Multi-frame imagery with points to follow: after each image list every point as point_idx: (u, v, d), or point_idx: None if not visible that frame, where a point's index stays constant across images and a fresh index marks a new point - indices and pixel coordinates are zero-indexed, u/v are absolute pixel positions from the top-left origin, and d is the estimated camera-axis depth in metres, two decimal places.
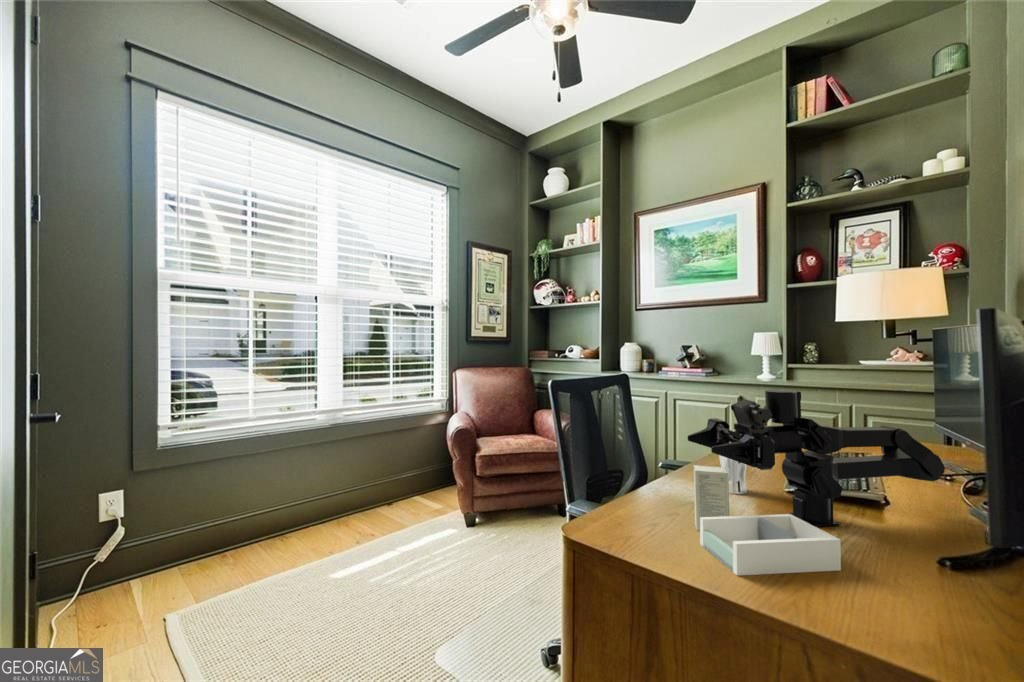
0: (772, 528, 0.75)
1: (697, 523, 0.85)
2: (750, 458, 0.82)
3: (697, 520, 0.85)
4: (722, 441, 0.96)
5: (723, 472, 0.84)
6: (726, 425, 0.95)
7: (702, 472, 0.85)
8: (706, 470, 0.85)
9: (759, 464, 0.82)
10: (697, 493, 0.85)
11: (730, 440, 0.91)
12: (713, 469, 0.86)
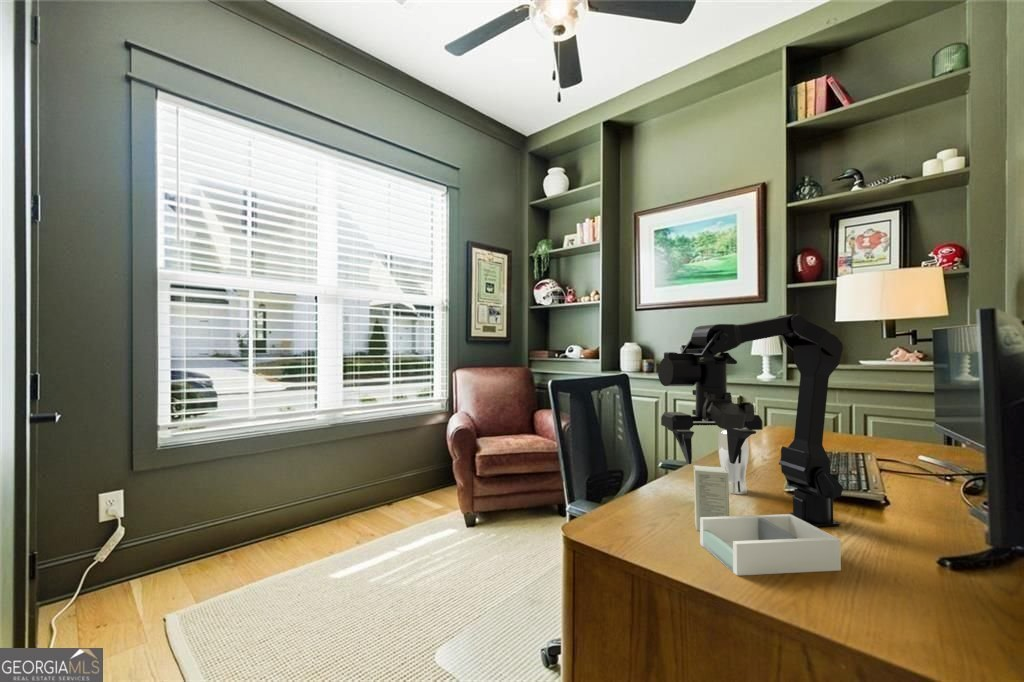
0: (772, 528, 0.75)
1: (697, 523, 0.85)
2: None
3: (697, 520, 0.85)
4: None
5: (723, 472, 0.84)
6: None
7: (702, 472, 0.85)
8: (706, 470, 0.85)
9: None
10: (697, 493, 0.85)
11: (703, 424, 0.87)
12: (713, 469, 0.86)
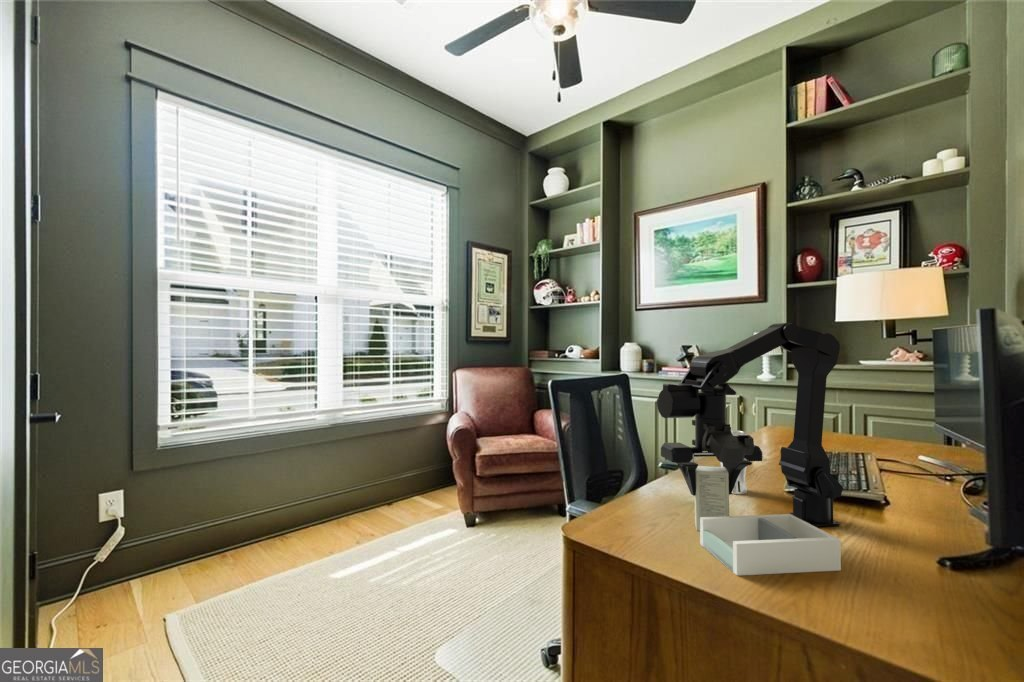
0: (772, 528, 0.75)
1: (697, 523, 0.85)
2: None
3: (697, 520, 0.85)
4: None
5: (723, 472, 0.84)
6: None
7: (702, 472, 0.85)
8: (706, 470, 0.85)
9: None
10: (697, 493, 0.85)
11: None
12: (713, 469, 0.86)
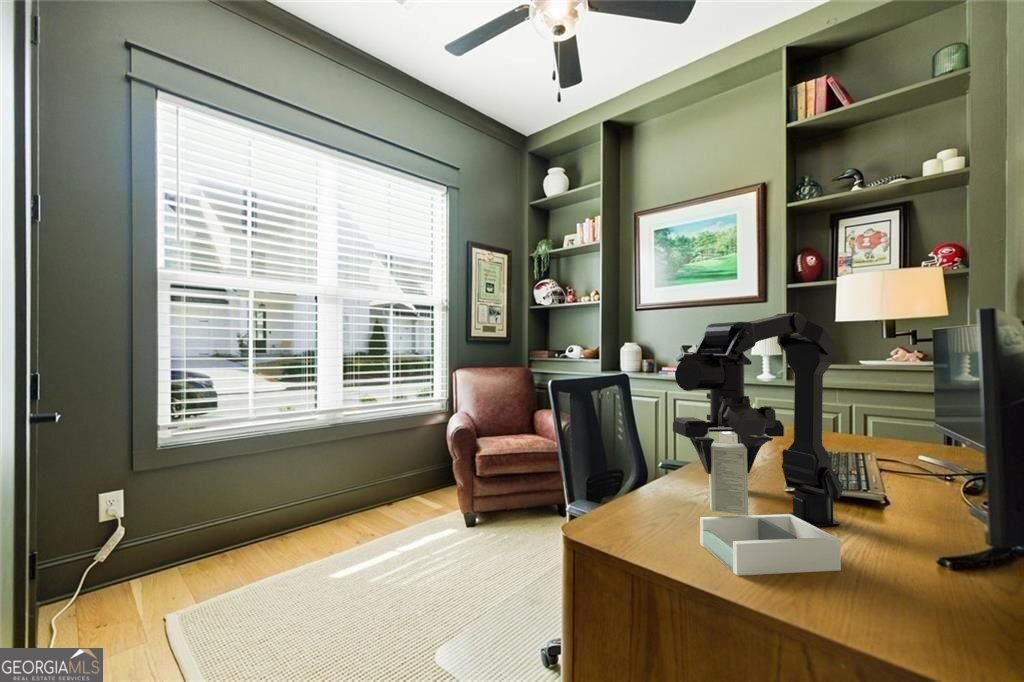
0: (772, 528, 0.75)
1: (712, 503, 0.79)
2: None
3: (712, 500, 0.79)
4: None
5: (741, 448, 0.77)
6: None
7: (718, 448, 0.78)
8: (722, 446, 0.79)
9: None
10: (712, 471, 0.79)
11: None
12: (730, 445, 0.79)
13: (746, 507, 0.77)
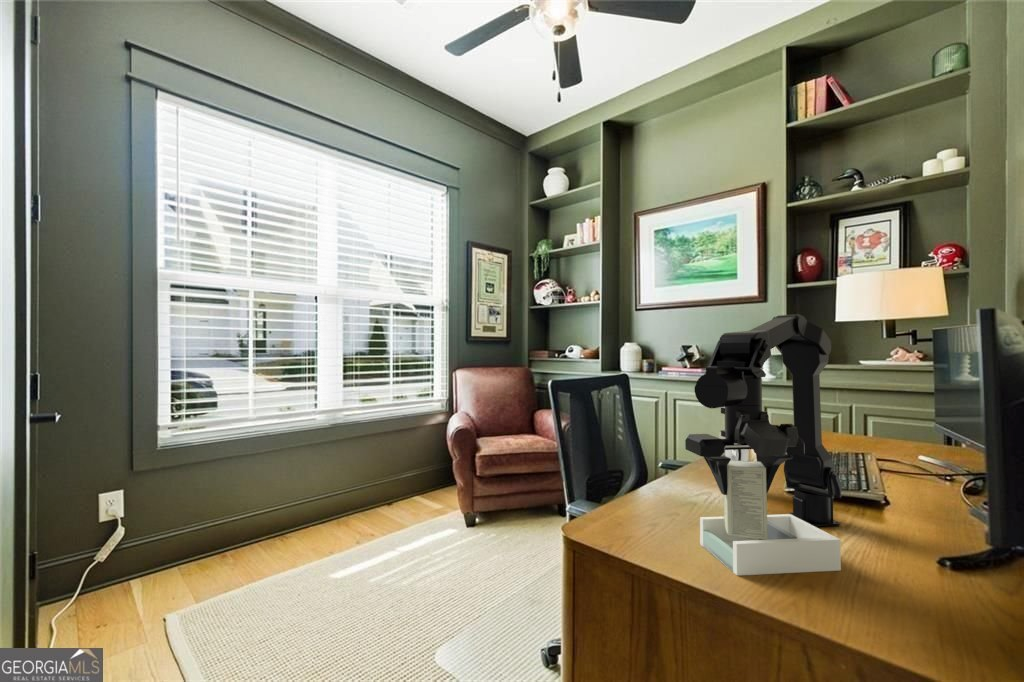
0: (772, 528, 0.75)
1: (729, 527, 0.74)
2: None
3: (729, 523, 0.73)
4: None
5: (760, 468, 0.72)
6: None
7: (735, 468, 0.73)
8: (739, 465, 0.74)
9: None
10: (729, 492, 0.74)
11: None
12: (747, 464, 0.74)
13: (765, 531, 0.72)
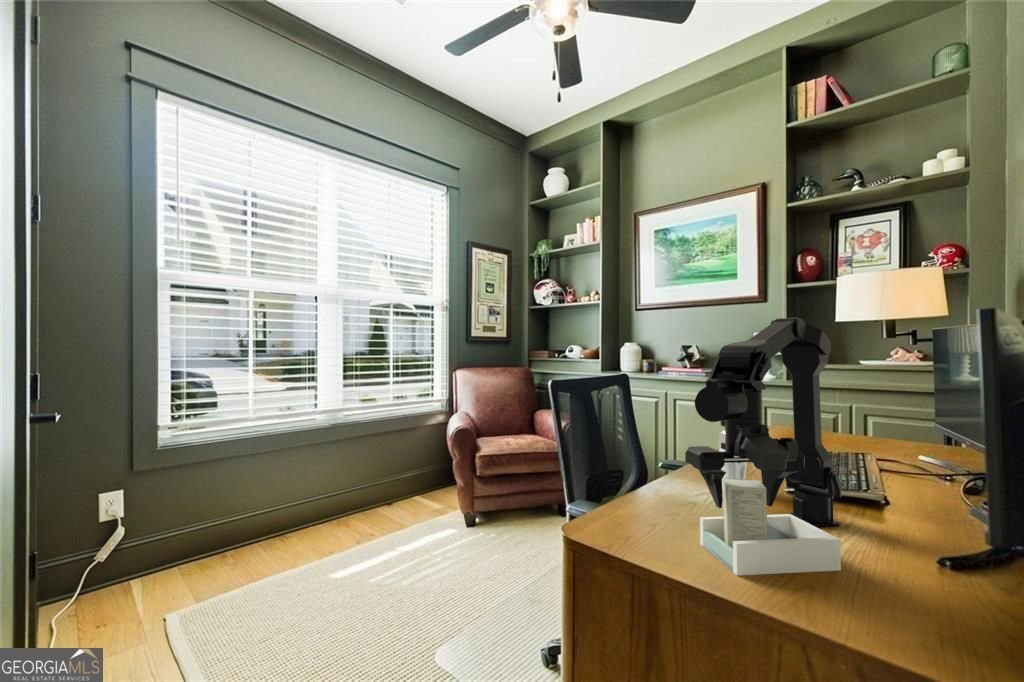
0: (772, 528, 0.75)
1: None
2: None
3: (729, 542, 0.73)
4: None
5: (760, 488, 0.72)
6: None
7: (735, 487, 0.73)
8: (739, 485, 0.73)
9: None
10: (729, 512, 0.73)
11: None
12: (747, 483, 0.74)
13: None
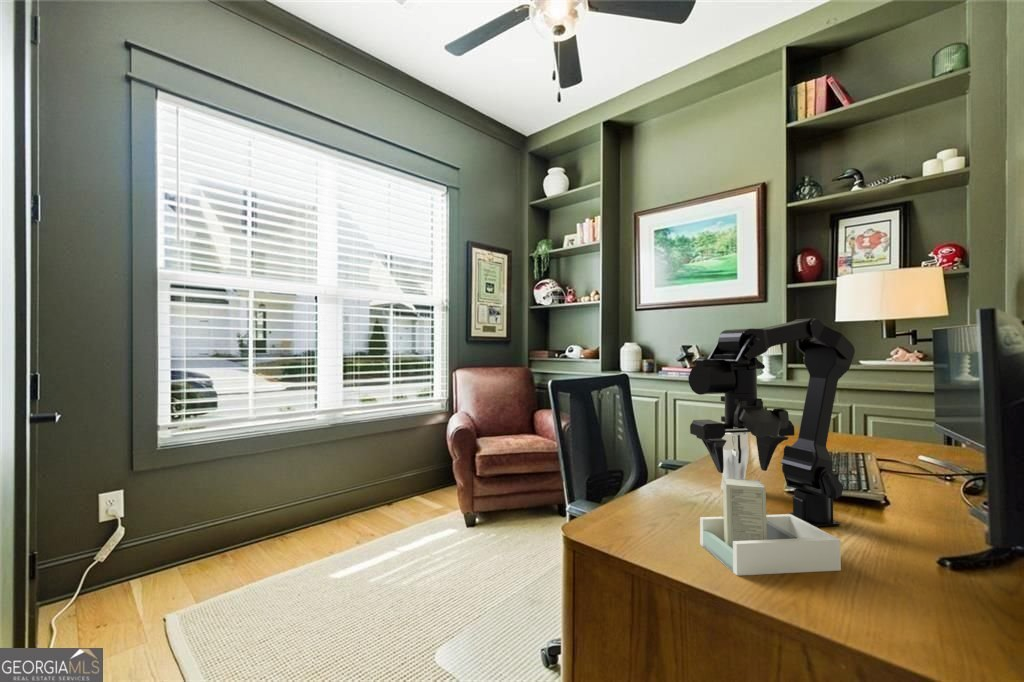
0: (772, 528, 0.75)
1: None
2: None
3: (728, 542, 0.73)
4: None
5: (759, 487, 0.72)
6: None
7: (735, 487, 0.73)
8: (739, 484, 0.74)
9: None
10: (729, 511, 0.73)
11: None
12: (747, 483, 0.74)
13: None
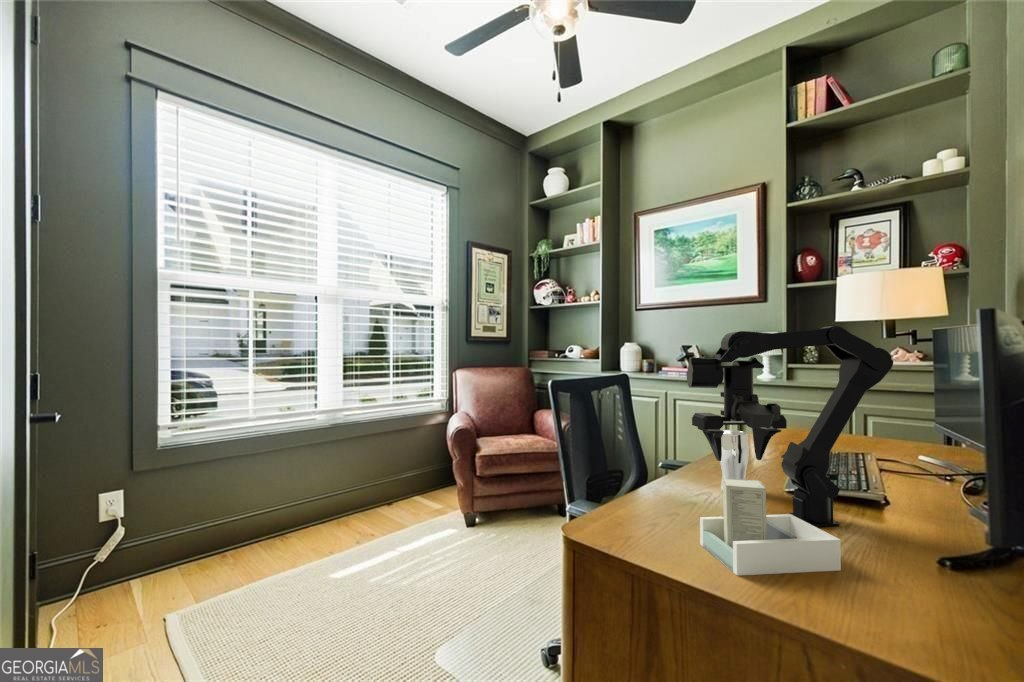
0: (772, 528, 0.75)
1: None
2: None
3: (728, 543, 0.73)
4: None
5: (759, 488, 0.72)
6: None
7: (735, 487, 0.73)
8: (739, 485, 0.73)
9: None
10: (729, 512, 0.73)
11: None
12: (747, 483, 0.74)
13: None
